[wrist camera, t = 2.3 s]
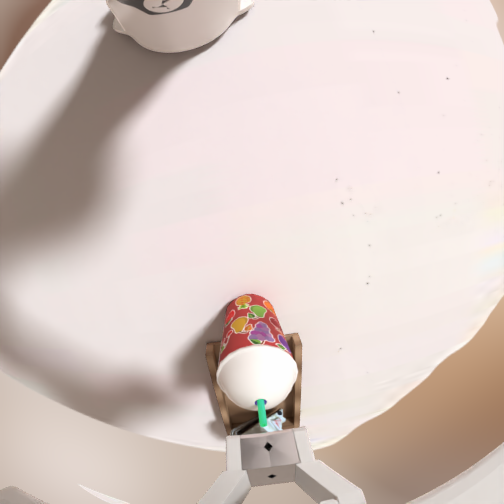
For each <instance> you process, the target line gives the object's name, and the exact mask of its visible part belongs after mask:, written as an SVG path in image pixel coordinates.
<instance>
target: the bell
mask: <svg viewBox="0 0 504 504" xmlns="http://www.w3.org/2000/svg"><path fill="white" fill-rule="evenodd" d="M266 418H267V426H266V427H261V426H260V422H259V416H256V417H254V418H252V419H251V420H249V421H247V422H245V423H244V424H242V425H240V426H238V427H237V428H234V429H233V430H232V431H231V432H230V436H233V435H248V434H258V433H266V432H273V431H279V430H283V429H281V428H282V423H284V422H285V420H286V418H284V417H283V409H281V408H280V409H278V410H277V411H275V412H274V413H272V414H271V415H269V416H268V417H267V416H266Z"/></svg>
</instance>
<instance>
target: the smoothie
mask: <svg viewBox="0 0 504 504" xmlns="http://www.w3.org/2000/svg"><path fill="white" fill-rule="evenodd" d="M297 375H298V369H297V365H296V362H295V360H294V359H293V356H292V354H291V351H290V349H289V346H288V344H287V341H286V339H285V336H284V334H283V331H282V329H281V326H280V324H279V321H278V319H277V317H276V314H275V312H274V309H273V307H272V305H271V304H270V302H269V301H268V300H266V299H265V298H263V297H261V296H258V295H254V294H245V295H242V296H240V297H238V298H236V299H235V300H233V301H232V302H231V303H230V305H229V306H228V307H227V310H226V313H225V320H224V327H223V334H222V341H221V348H220V355H219V362H218V369H217V372H216V376H217V383H218V385H219V387H220V389H221V390H222V391H223V392H224V393H225V394H226V395H227V397H228V398H229V399H230V400H231V401H232V402H234V403H235V404H236V405H237V406H239V407H242V408H244V409H246V410H251V411H258V414H259V422H260V426H261V427H266V426H267V418H266V411H265V410H268V409H271V408H273V407H275V406H277V405H278V404H280V403H281V402H282V401H283V400H285V398H286V397H287V396H288V394H289V393H290V391H291V389H292V387H293V385H294V383H295V381H296V379H297Z"/></svg>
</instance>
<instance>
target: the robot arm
mask: <svg viewBox="0 0 504 504" xmlns="http://www.w3.org/2000/svg"><path fill="white" fill-rule="evenodd" d="M106 3H107V5H108V7H109V8H110V10H111V11H112V13H113V14H114V16H115V18H114V21H113V28H114V30H115V31H116V32H118V33H121V34H126V35H129V36H131V37H132V38H133V39H134V40H135V41H136V42H137V43H138V44H140V45H141V46H143V47H144V48H146V49H149V50H152V51H156V52H162V53H175V52H183V51H188V50H191V49H195V48H198V47H200V46H203V45H205V44H207V43H209V42H211V41H212V40H214V39H215V38H217V37H218V36H220V35H221V34H222V33H223V32H224V31H225V30H226V29H227V28H228V27H229V26H230V24H231V23H232V22H233V20H234V19H235V18H236V17H237V16H239V15H241V14H243V13H245V12H246V11H248V10H250V9H251V8H252V7H253V6H254V0H106ZM287 482H295V483H296V484H297V485H298V486H299V487H300V488H301V489H302V490H303V491H305V492H306V493H307V494H308V495H309V496H310V497H311V498H312V499H313V500H315V501H316V502H317V503H318V504H367V503H366V500H365V497H364V494H363V491H362V490H361V489H360V488H358V487H357V486H355V485H354V484H352V483H351V482H349V481H348V480H347V479H345V478H344V477H342V476H341V475H340V474H338V473H337V472H335V471H334V470H333V469H331V468H330V467H328V466H327V465H326V464H324V463H323V462H322V461H320V460H315V457H314V454H313V450H312V446H311V442H310V439H309V435H308V431H307V428H306V427H305V426H304V427H298V428H293V429H292V428H291V429H285V430H279V431H273V432H266V433H258V434H248V435H233V436H227V437H226V471H223V472H222V473H221V474H220V475H219V477H218V478H217V479H216V481H215V482H214V483H213V484H212V486H211V487H210V488H209V489H208V491H207V492H206V493H205V494H204V495H203V497H202V498H201V499H200V500H199V502H198V503H197V504H242V503H243V501H244V499H245V498H246V496H247V494H248V493H249V491H250V490H251V487H255V486H263V485H271V484H279V483H287ZM0 504H47V503H46V502H43V501H41V500H39V499H37V498H35V497H33V496H31V495H29V494H28V493H26V492H24V491H22V490H20V489H19V488H17V487H14V486H9V487H6V488H4V489H2V490H0ZM405 504H504V442H503V443H502V444H501V445H499V446H498V447H497V448H496V449H494V450H493V451H492V452H491V453H489V454H488V455H487V456H485V457H484V458H483V459H481V460H480V461H478V462H477V463H476V464H474V465H473V466H471V467H470V468H468V469H467V470H465V471H464V472H462V473H461V474H459V475H458V476H456V477H454V478H453V479H451V480H450V481H448V482H446V483H444V484H443V485H441V486H439V487H437V488H435V489H434V490H432V491H430V492H428V493H426V494H424V495H422V496H420V497H418V498H416V499H414V500H412V501H410V502H408V503H405Z"/></svg>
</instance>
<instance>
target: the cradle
mask: <svg viewBox="0 0 504 504" xmlns="http://www.w3.org/2000/svg"><path fill="white" fill-rule="evenodd" d="M284 336H285V339H286V341H287V344H288V346H289V349H290V351H291V354H292V356H293V359H294V360H295V362H296V365H297V369H298V375H297V379H296V381H295V383H294V385H293V387H292V389H291V391H290V393H289V394H288V396H287V397H286V398H285V400H283V401H282V402H281V403H280V404H278V405H277V406H275V407H273V408H271V409H268V410H265V411H266V416H267V417H268V416H269V415H271V414H272V413H274V412H275V411H277V410H278V409H280V408H281V409H283V417H284V418H286V420H285V422H284V423H282V428H281V429H283V430H285V429H291V428H298V427H299V425H300V404H301V375H302V343H301V340H300V337H299V335H298V333H293V334H286V335H284ZM220 348H221V342H213V343H207V346H206V359H207V363H208V367H209V371H210V375H211V379H212V383H213V386H214V390H215V394H216V397H217V401H218V404H219V408H220V411H221V415H222V418H223V422H224V425H225V428H226V432H227V435H228V436H229V435H230V432H231V431H232V430H233V429H234V428H237V427H238V426H240V425H242V424H244V423H245V422H247V421H249V420H251V419H252V418H254V417H256V416H259V414H258V411H251V410H246V409H244V408H242V407H239V406H237V405H236V404H235V403H234V402H232V401H231V400H230V399H229V398H228V397H227V395H226V394H225V393H224V392H223V391H222V390H221V389H220V387H219V385H218V383H217V376H216V372H217V369H218V362H219V355H220Z"/></svg>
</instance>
